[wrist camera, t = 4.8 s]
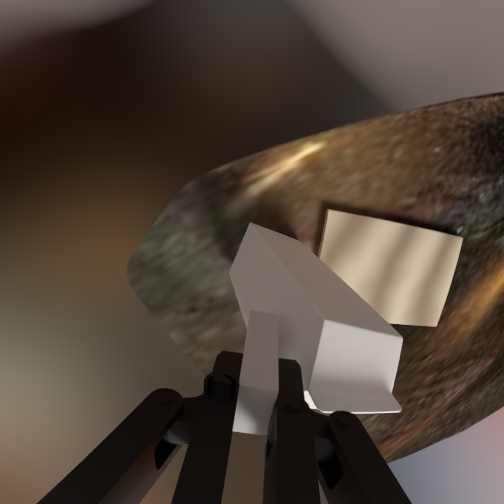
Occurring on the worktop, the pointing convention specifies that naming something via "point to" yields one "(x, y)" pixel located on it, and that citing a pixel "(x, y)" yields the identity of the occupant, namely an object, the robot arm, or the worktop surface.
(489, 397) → the worktop surface
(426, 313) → the board
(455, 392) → the worktop surface
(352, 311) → the white carton-shaped block
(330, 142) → the worktop surface
